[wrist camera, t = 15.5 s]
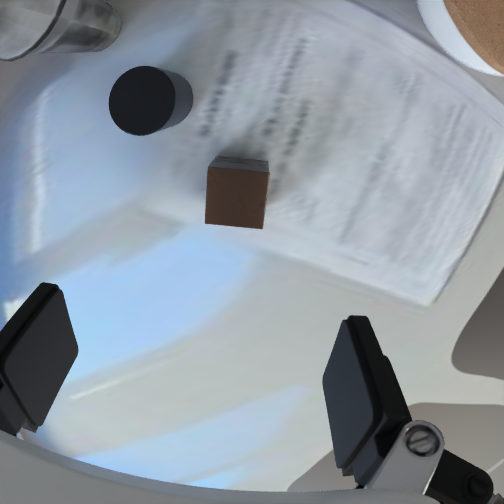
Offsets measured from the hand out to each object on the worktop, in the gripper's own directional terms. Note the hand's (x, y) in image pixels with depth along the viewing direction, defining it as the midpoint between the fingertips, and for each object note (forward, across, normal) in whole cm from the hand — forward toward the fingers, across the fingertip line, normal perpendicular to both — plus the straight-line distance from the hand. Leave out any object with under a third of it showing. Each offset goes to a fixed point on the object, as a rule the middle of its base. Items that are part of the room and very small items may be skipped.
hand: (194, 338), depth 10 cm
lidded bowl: (+20, -18, -20) cm, 34 cm away
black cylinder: (+20, +6, -7) cm, 22 cm away
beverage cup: (+20, +14, -14) cm, 28 cm away
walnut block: (+20, 0, 0) cm, 20 cm away
